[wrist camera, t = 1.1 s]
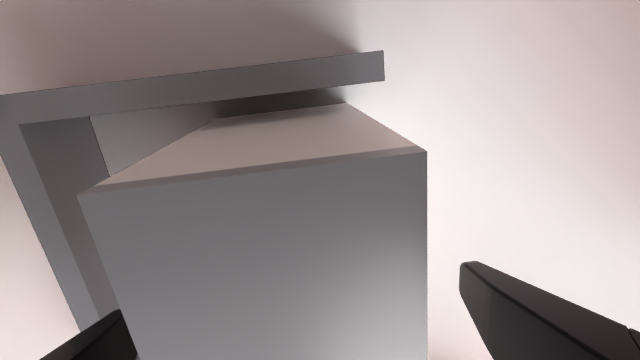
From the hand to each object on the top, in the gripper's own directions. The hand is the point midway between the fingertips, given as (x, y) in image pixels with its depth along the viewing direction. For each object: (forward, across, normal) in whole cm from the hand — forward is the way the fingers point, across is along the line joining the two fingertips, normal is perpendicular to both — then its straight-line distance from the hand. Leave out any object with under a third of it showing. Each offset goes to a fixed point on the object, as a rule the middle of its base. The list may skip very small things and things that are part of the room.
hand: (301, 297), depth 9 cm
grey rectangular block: (+5, 0, 0) cm, 5 cm away
